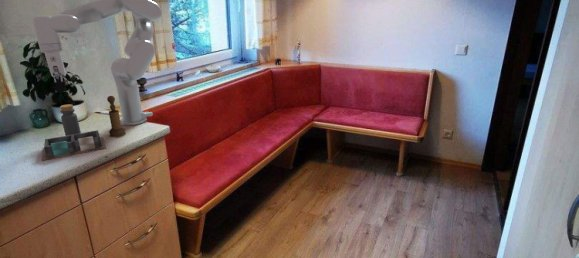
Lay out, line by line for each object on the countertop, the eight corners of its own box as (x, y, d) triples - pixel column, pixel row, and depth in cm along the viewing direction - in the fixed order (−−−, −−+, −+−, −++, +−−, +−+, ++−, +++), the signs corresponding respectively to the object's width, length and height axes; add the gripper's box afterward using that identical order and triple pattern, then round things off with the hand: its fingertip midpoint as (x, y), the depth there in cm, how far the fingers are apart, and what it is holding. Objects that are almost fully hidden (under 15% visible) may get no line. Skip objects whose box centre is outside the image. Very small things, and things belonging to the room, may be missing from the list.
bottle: (84, 136, 155) (77, 103, 150) (75, 140, 149) (67, 107, 144) (72, 135, 155) (64, 103, 150) (63, 140, 150) (54, 107, 145)
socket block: (103, 138, 152) (100, 126, 150) (106, 148, 141) (103, 135, 139) (43, 148, 141) (40, 136, 140) (42, 161, 130) (38, 147, 128)
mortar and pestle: (129, 132, 158) (122, 94, 152) (119, 137, 152) (111, 98, 146) (117, 131, 160) (109, 93, 154) (106, 136, 154) (98, 97, 148)
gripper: (61, 49, 134) (72, 92, 140) (62, 45, 148) (71, 84, 154) (38, 50, 130) (50, 94, 136) (41, 46, 144) (51, 86, 150)
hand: (61, 89), depth 145 cm, fingers open, 9 cm apart
